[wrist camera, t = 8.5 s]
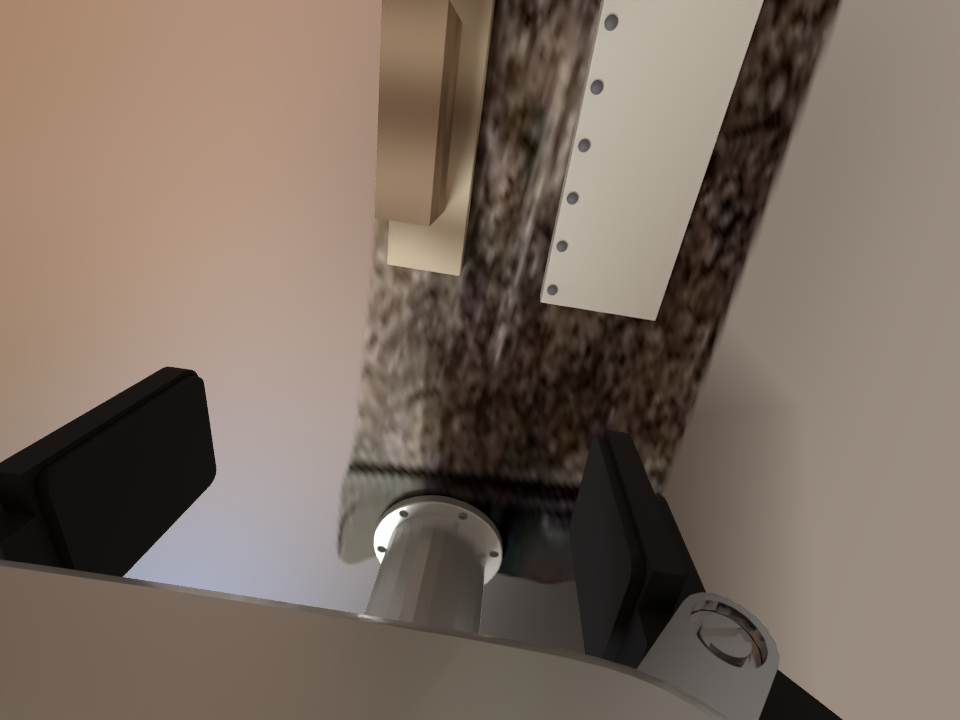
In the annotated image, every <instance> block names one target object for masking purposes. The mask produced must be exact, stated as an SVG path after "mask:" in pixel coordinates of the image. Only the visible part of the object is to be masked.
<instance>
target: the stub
mask: <svg viewBox="0 0 960 720" xmlns="http://www.w3.org/2000/svg"><path fill="white" fill-rule="evenodd" d="M494 7H495V0H382V18H381V49H380V80H379V112H378V143H377V174H376V205H375V218H379V219H385V220H389V238H388V260H387V264H388V265H394V266H401V267H407V268H413V269H419V270H425V271H432V272H438V273H444V274H450V275H457V276H460V274H461V272H462V268H463V259H464V251H465V243H466V235H467V227H468V219H469V211H470V203H471V194H472V186H473V178H474V170H475V162H476V154H477V146H478V137H479V129H480V121H481V113H482V105H483V97H484V89H485V80H486V72H487V64H488V56H489V48H490V40H491V32H492V24H493V15H494Z"/></svg>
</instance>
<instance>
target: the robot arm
mask: <svg viewBox="0 0 960 720" xmlns="http://www.w3.org/2000/svg"><path fill="white" fill-rule="evenodd" d="M215 475H216V464H215V457H214V449H213V443H212V435H211V429H210V421H209V415H208V407H207V400H206V393H205V387H204V382H203V380H202V378H200V377H198V375H197V373H196V372H195V371H193V370H188V369H181V368H174V367H165V368H162V369H161V370H159V371H157V372H156V373H154V374H152V375H150V376H148V377H147V378H145V379H143V380H142V381H140V382H138V383H137V384H135V385H133V386H131V387H130V388H128V389H126V390H124V391H123V392H121V393H119V394H118V395H116V396H115V397H112V398H111V399H109V400H108V401H106V402H104V403H102V404H100V405H99V406H97V407H95V408H93V409H92V410H90V411H88V412H87V413H85V414H84V415H82V416H80V417H78V418H76V419H75V420H73V421H71V422H69V423H68V424H66V425H64V426H63V427H61V428H59V429H57V430H56V431H54V432H52V433H51V434H49V435H47V436H45V437H44V438H42V439H40V440H38V441H37V442H35V443H33V444H32V445H30V446H28V447H27V448H25V449H23V450H21V451H20V452H18V453H16V454H14V455H13V456H11V457H9V458H8V459H6V460H4V461H3V462H1V463H0V720H842V719H841V718H840V717H838V716H837V715H836V714H835V713H833V712H832V711H831V710H829V709H828V708H827V707H826V706H824V705H823V704H822V703H820V702H819V701H818V700H817V699H815V698H814V697H813V696H811V695H810V694H809V693H807V692H806V691H805V690H803V689H802V688H801V687H800V686H798V685H797V684H796V683H794V682H793V681H792V680H791V679H789V678H788V677H787V676H785V675H784V674H782V672H780V671H779V670H778V663H779V654H778V650H777V647H776V644H775V641H774V640H773V638H772V636H771V635H770V633H769V632H768V630H767V628H766V627H765V626H764V625H763V624H762V623H761V622H760V621H759V620H758V619H757V618H756V616H754V615H753V614H752V613H751V612H749V611H748V610H747V609H745V608H744V607H743V606H741V605H739V604H737V603H736V602H734V601H732V600H730V599H729V598H726V597H723V596H720V595H717V594H713V593H706V591H705V589H704V587H703V584H702V582H701V580H700V577H699V575H698V573H697V571H696V568H695V566H694V564H693V561H692V559H691V557H690V554H689V552H688V550H687V547H686V545H685V543H684V540H683V538H682V536H681V533H680V531H679V529H678V527H677V524H676V522H675V520H674V517H673V515H672V513H671V510H670V508H669V506H668V503H667V501H666V500H665V498H664V497H663V496H662V495H658V494H654V491H653V489H652V487H651V484H650V482H649V479H648V477H647V474H646V472H645V469H644V467H643V464H642V462H641V459H640V457H639V454H638V452H637V449H636V447H635V445H634V442H633V440H632V437H631V435H630V434H629V433H624V432H617V431H610V430H604V431H603V433H602V435H594V437H593V440H592V443H591V447H590V451H589V455H588V459H587V463H586V466H585V470H584V474H583V478H582V482H581V485H580V489H579V493H578V497H577V501H576V505H575V508H574V512H573V516H572V520H571V524H570V543H571V550H572V558H573V565H574V573H575V580H576V587H577V595H578V602H579V610H580V618H581V625H582V633H583V640H584V648H585V654H581V653H577V652H572V651H568V650H563V649H559V648H555V647H550V646H544V645H538V644H533V643H528V642H522V641H516V640H511V639H505V638H500V637H494V636H489V635H483V634H479V630H480V619H481V608H482V597H483V586H484V584H486V583H487V582H489V581H490V580H491V579H492V578H493V577H494V576H495V574H496V573H497V571H498V570H499V568H500V565H501V562H502V553H503V546H502V539H501V536H500V533H499V531H498V529H497V528H496V526H495V525H494V523H493V522H492V521H491V520H490V519H489V518H488V517H487V516H486V515H485V514H484V513H483V512H481V511H480V510H478V509H477V508H476V507H474V506H472V505H470V504H468V503H466V502H463V501H460V500H457V499H454V498H450V497H444V496H435V495H425V496H416V497H412V498H408V499H405V500H402V501H400V502H398V503H396V504H394V505H393V506H392V507H390V508H389V509H388V510H387V511H386V512H385V513H384V514H383V515H382V517H381V518H380V520H379V522H378V524H377V527H376V530H375V533H374V537H373V546H374V550H375V554H376V556H377V558H378V560H379V562H380V563H381V566H380V569H379V572H378V575H377V578H376V581H375V584H374V587H373V590H372V593H371V596H370V599H369V602H368V605H367V608H366V611H365V614H364V615H362V614H356V613H350V612H344V611H337V610H331V609H324V608H318V607H312V606H306V605H299V604H293V603H287V602H280V601H274V600H268V599H261V598H255V597H248V596H242V595H235V594H229V593H223V592H216V591H209V590H204V589H197V588H190V587H184V586H178V585H171V584H164V583H158V582H151V581H144V580H138V579H131V578H125V577H123V576H124V575H125V574H126V573H127V572H128V571H129V570H130V569H131V568H132V567H133V566H134V564H135V563H136V562H137V561H138V560H139V559H140V558H141V557H142V556H143V555H144V554H145V553H146V552H147V551H148V550H149V549H150V548H151V547H152V546H153V545H154V543H155V542H156V541H157V540H158V539H159V538H160V537H161V536H162V535H163V534H164V533H165V532H166V531H167V530H168V529H169V528H170V527H171V526H172V525H173V524H174V523H175V521H176V520H177V519H178V518H179V517H180V516H181V515H182V514H183V513H184V512H185V511H186V510H187V509H188V508H189V507H190V506H191V505H192V504H193V503H194V501H196V499H197V498H198V497H199V496H200V495H201V494H202V493H203V492H204V491H205V490H206V489H207V488H208V487H209V486H210V485H211V483H212V482H213V480H214V478H215Z"/></svg>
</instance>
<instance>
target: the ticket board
mask: <svg viewBox="0 0 960 720" xmlns="http://www.w3.org/2000/svg"><path fill="white" fill-rule="evenodd" d="M763 1H764V0H601V5H600V9H599V14H598V19H597V24H596V29H595V33H594V38H593V43H592V48H591V53H590V57H589V62H588V67H587V72H586V77H585V81H584V86H583V91H582V96H581V101H580V105H579V110H578V115H577V120H576V125H575V130H574V134H573V139H572V144H571V149H570V154H569V158H568V163H567V168H566V173H565V178H564V182H563V187H562V192H561V197H560V202H559V206H558V211H557V216H556V221H555V226H554V230H553V235H552V240H551V245H550V250H549V254H548V259H547V264H546V269H545V274H544V279H543V283H542V288H541V293H540V301H541V302H542V303H548V304H554V305H560V306H567V307H573V308H579V309H585V310H591V311H598V312H604V313H610V314H616V315H623V316H629V317H635V318H641V319H647V320H654V321H655V320H656V317H657V314H658V311H659V308H660V305H661V302H662V299H663V296H664V293H665V290H666V287H667V285H668V282H669V279H670V276H671V273H672V270H673V267H674V264H675V261H676V258H677V255H678V252H679V249H680V246H681V243H682V240H683V237H684V234H685V231H686V228H687V225H688V222H689V220H690V217H691V214H692V211H693V208H694V205H695V202H696V199H697V196H698V193H699V190H700V187H701V184H702V181H703V178H704V175H705V172H706V169H707V166H708V163H709V160H710V157H711V154H712V152H713V149H714V146H715V143H716V140H717V137H718V134H719V131H720V128H721V125H722V122H723V119H724V116H725V113H726V110H727V107H728V104H729V101H730V98H731V95H732V92H733V89H734V87H735V84H736V81H737V78H738V75H739V72H740V69H741V66H742V63H743V60H744V57H745V54H746V51H747V48H748V45H749V42H750V39H751V36H752V33H753V30H754V27H755V24H756V21H757V19H758V16H759V13H760V10H761V7H762V4H763Z"/></svg>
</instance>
